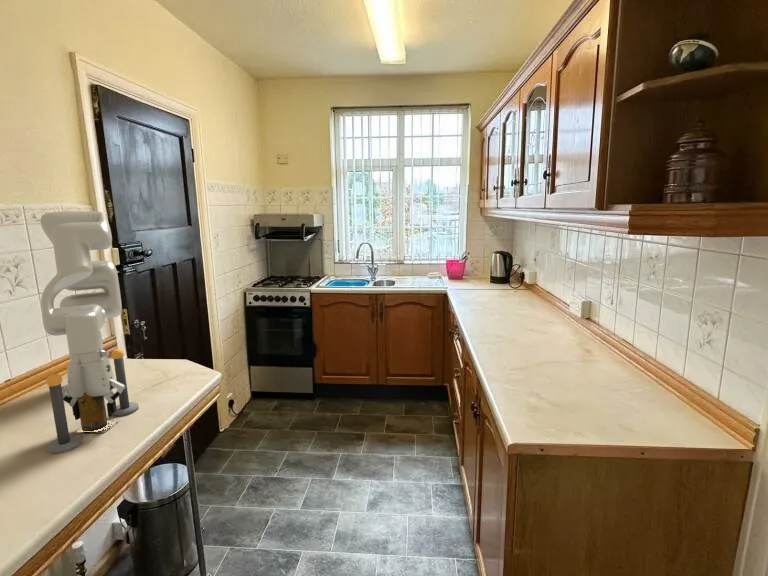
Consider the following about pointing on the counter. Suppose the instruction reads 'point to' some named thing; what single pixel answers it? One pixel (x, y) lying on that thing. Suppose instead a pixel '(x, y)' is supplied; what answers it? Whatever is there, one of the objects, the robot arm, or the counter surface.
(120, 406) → the stand
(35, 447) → the counter surface
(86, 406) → the condiment
